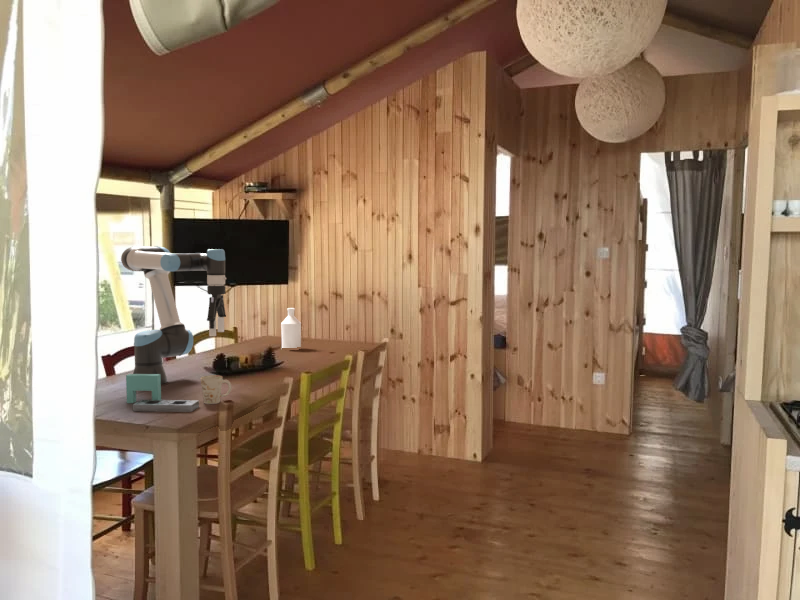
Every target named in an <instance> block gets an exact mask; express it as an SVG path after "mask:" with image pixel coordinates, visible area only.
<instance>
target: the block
mask: <svg viewBox="0 0 800 600" xmlns="http://www.w3.org/2000/svg"><path fill="white" fill-rule="evenodd" d="M198 408H200V400H199V399H198V400H197V399H192V400H191V399H190V400H189V399H185V400H184V399H161V400H152V399H141V400H139V401H136V402H134V403H132V412H153V413H154V412H157V413H161V412H163V413H164V412H167V413H169V412H170V413H192V412H194V411H195V410H197V409H198Z"/></svg>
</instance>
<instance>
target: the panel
mask: <svg viewBox="0 0 800 600" xmlns="http://www.w3.org/2000/svg"><path fill="white" fill-rule="evenodd" d="M125 382H126V383H125V384H126V385H125V386H126V387H125V388H126V389H125V390H126V403H127V404H135V403H137V392H139V391H142V392H144V391H146V392H147V391H148V392H151V400H162V386H161V385H162V384H161V375H160V374H133V373H128V374H126V375H125Z"/></svg>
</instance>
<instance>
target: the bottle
mask: <svg viewBox="0 0 800 600" xmlns="http://www.w3.org/2000/svg"><path fill="white" fill-rule="evenodd" d="M295 310H296V308H295V307H288V308H286V311H287V316H286V317H285V318H284V319H283V321H281V323H280V330H281V331H280V332H281V333H280V334H281V335H280V337H281V349H282V348H297V347H301V348H302V322H301V321H300V320H299V319H298V318H297V317H296V316H295Z"/></svg>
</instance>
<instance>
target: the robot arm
mask: <svg viewBox="0 0 800 600" xmlns="http://www.w3.org/2000/svg"><path fill="white" fill-rule="evenodd" d="M120 257H121V258H120V259H121V260H120V262H121V264H122V265H123V267H124V268H125V269H126V270H129V271H131V272H143V275H144V277H145V278H146V279H148V280H149V284H150V287H151V291H152V296H153V299H154V304H155V308H156V312H157V316H158V318H159V323H160V328H159V329H151V330H150V329H148V330H144V331H139V332H137V333H136V334H135V335H134V338H133V347H134V368H133V371H132V374H160V375H161V385H163V384H164V385H165V384H166V383H168V376H167V373H166V370H165V368H164V365H163V358H171V357H180V356H185V355H187V354H189V353H190V352H191V350H192V349H193V347H194V335H193V332H192V331H191V330H189V329H186V327H185V324H184V323H183V322H181V320H180V317H179V313H178V309H177V304H176V301H175V297H174V293H173V289H172V285H171V283H170V278H169V274H170V273H171V272H190V271H192V272H194V271H200V272H201V271H206V274H207V275H206V276H207V277H206V283H207V289H206V290H207V291H206V292H207V294H208V295H211V296H210V297H209V298H208V299H209V301H208V302H209V304H208V311H207V317H206V321H207V322H208V332H209V333H208V336H209V337H217V333H224V332H225V317H227V314H226V308H225V302H224V295H225V294H226V280H227V277H226V252H225V250H224V249H223V248H221V249H220V248H218V249H217V248H215V249H213V248H211V249H210V248H208V249H207V250H206V253H203V252H202V253H201V252H195V253H190V252H189V253H180V252H179V253H175V252H174V253H172V252H170V250H169V249H168V248H166V247H164V246H158V245H154V246H137V245H136V246H131V247H128V248H126V249H125V250H124V251H123V252H122V254H121V256H120ZM217 316H218V317H217ZM216 318H217V321H216Z"/></svg>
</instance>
